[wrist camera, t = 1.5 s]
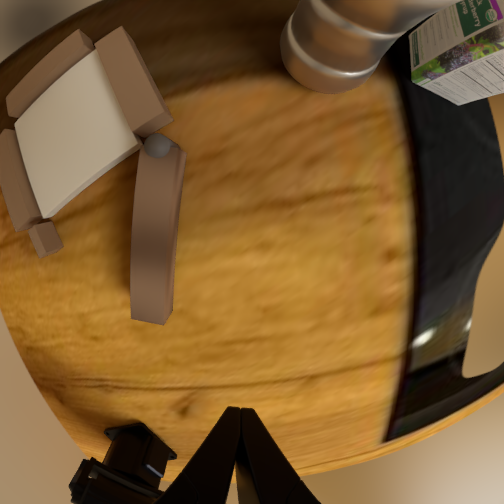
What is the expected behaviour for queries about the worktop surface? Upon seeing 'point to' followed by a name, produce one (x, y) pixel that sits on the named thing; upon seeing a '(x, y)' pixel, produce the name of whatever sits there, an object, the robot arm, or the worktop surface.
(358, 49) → the silver metal bottle
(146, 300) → the leg
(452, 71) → the syrup box
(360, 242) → the worktop surface
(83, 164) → the seat
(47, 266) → the worktop surface
